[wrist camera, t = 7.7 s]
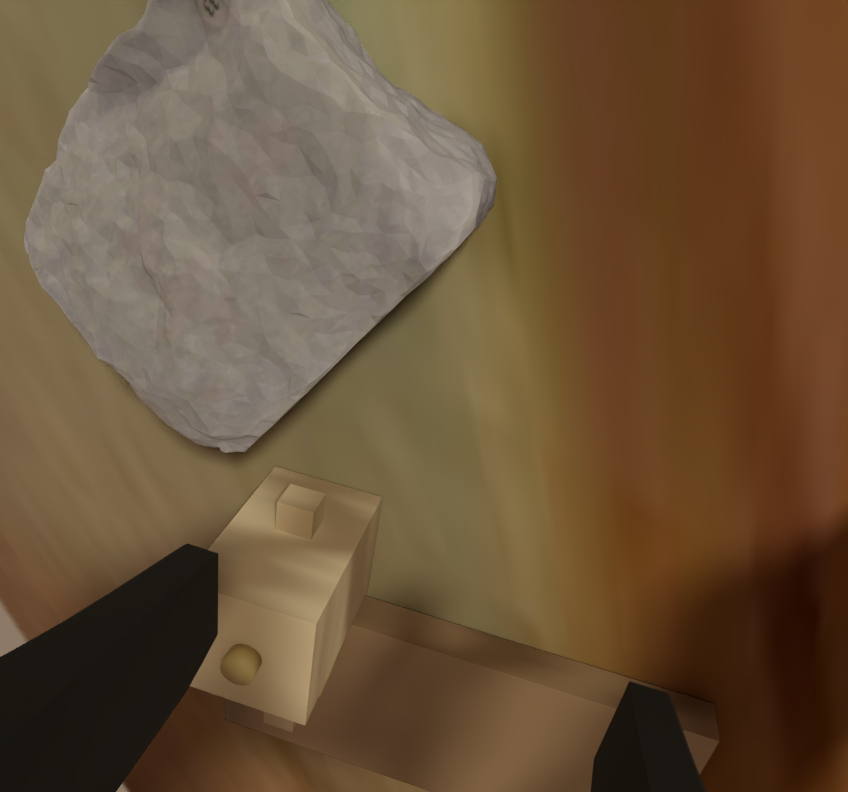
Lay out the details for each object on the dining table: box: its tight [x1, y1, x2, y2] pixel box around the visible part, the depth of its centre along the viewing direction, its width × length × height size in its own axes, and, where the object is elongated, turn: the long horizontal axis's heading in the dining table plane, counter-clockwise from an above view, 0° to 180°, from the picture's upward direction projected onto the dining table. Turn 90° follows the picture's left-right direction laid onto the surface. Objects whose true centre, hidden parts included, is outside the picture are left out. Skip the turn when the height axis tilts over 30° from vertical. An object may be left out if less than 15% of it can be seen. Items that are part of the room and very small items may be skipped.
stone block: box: [24, 0, 497, 453], centre depth 19 cm, size 12×5×10 cm
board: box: [225, 596, 720, 792], centre depth 26 cm, size 18×8×2 cm, turn 81°
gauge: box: [190, 467, 382, 732], centre depth 23 cm, size 4×11×7 cm, turn 171°
